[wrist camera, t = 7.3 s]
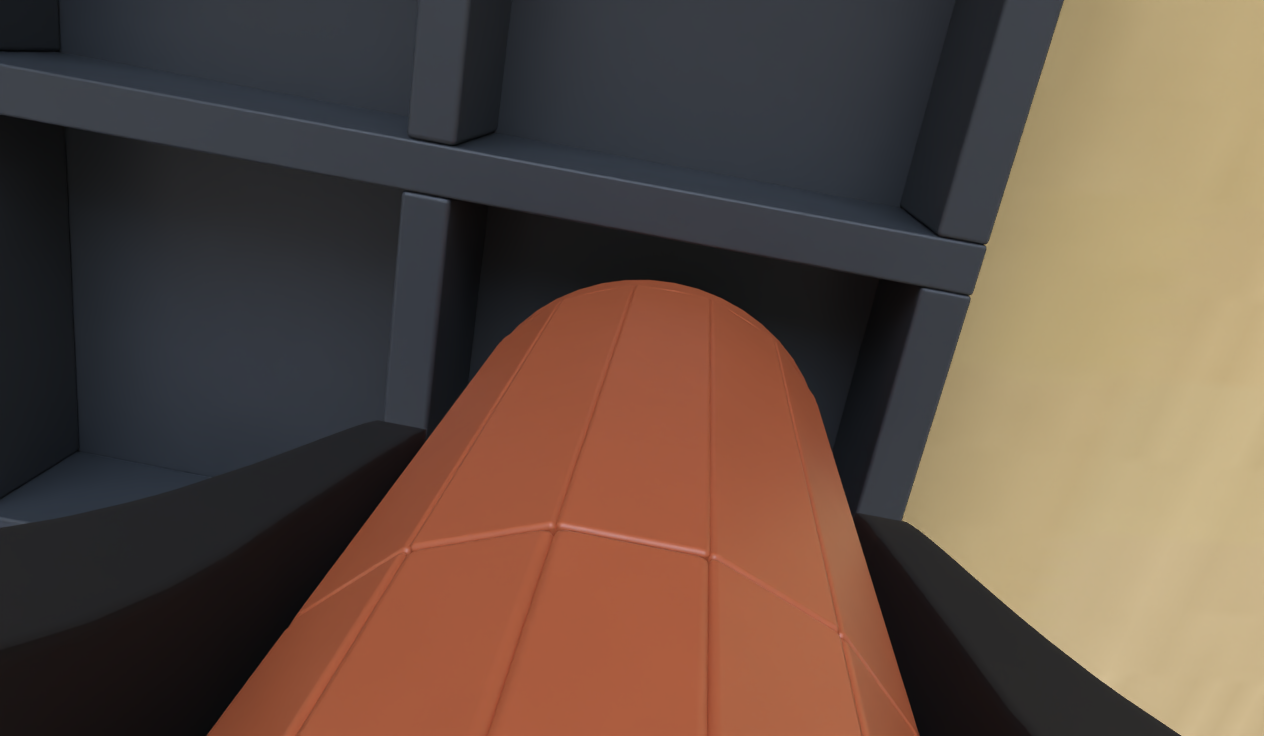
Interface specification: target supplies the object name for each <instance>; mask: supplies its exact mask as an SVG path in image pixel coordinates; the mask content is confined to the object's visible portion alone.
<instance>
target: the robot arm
mask: <svg viewBox="0 0 1264 736" xmlns="http://www.w3.org/2000/svg"><path fill="white" fill-rule="evenodd" d="M425 439H426V429H421V428H416V427H411V426H406V425H400V424H395V423H390V422H385V421H380V420H376V421H372V422H367V423H364V424H360V425H357V426H354V427H351V428H348V429H346V430H343V431H340V432H337V433H335V434H332V435H329V436H327V437H324V438H321V439H319V440H316V441H313V442H311V443H308V444H305V445H303V446H300V447H297V448H295V449H292V450H289V451H287V452H284V453H281V454H279V455H276V456H273V457H271V458H268V459H265V460H263V461H260V462H257V463H254V464H252V465H249V466H245V467H242V468H239V469H236V470H233V471H230V472H227V473H224V474H221V475H218V476H215V477H212V478H209V479H206V480H203V481H200V482H197V483H193V484H190V485H187V486H184V487H181V488H178V489H175V490H171V491H168V492H164V493H161V494H157V495H154V496H150V497H146V498H143V499H139V500H135V501H131V502H127V503H123V504H119V505H114V506H110V507H106V508H101V509H97V510H93V511H89V512H84V513H80V514H75V515H70V516H66V517H61V518H56V519H50V520H44V521H38V522H32V523H26V524H20V525H14V526H8V527H2V528H0V736H206V735H207V734H208V733H209V731H210V730H211V729H212V727H213V726H214V725H215V723H216V722H217V721H218V719H219V718H220V717H221V715H222V714H223V713H224V711H225V710H226V709H227V707H228V706H229V705H230V703H231V702H232V701H233V699H234V698H235V697H236V695H237V694H238V693H239V691H240V690H241V689H242V687H243V686H244V685H245V683H246V682H247V680H248V679H249V678H250V676H251V675H252V674H253V672H254V671H255V670H256V668H257V667H258V666H259V664H260V663H261V662H262V660H263V659H264V658H265V656H266V655H267V654H268V652H269V651H270V650H271V648H272V647H273V646H274V644H275V643H276V642H277V640H278V639H279V638H280V636H281V635H282V634H283V632H284V631H285V630H286V629H287V628H288V627H289V626H290V624H291V622H292V621H293V619H294V617H295V616H296V615H297V613H298V612H299V611H300V609H301V608H302V607H303V605H304V604H305V603H306V601H307V600H308V599H309V597H310V596H311V595H312V593H313V592H314V591H315V589H316V588H317V587H318V585H319V584H320V583H321V581H322V580H323V579H324V577H325V576H326V575H327V573H328V572H329V570H330V569H331V568H332V566H333V565H334V564H335V562H336V561H337V560H338V558H339V557H340V556H341V554H342V553H343V552H344V550H345V549H346V548H347V546H348V545H349V544H350V542H351V541H352V540H353V538H354V537H355V536H356V534H357V533H358V532H359V530H360V529H361V528H362V526H363V525H364V524H365V522H366V521H367V520H368V518H369V517H370V516H371V514H372V513H373V512H374V510H375V509H376V508H377V506H378V505H379V504H380V502H381V501H382V499H383V498H384V497H385V495H386V494H387V493H388V491H389V490H390V489H391V487H392V486H393V485H394V483H395V482H396V481H397V479H398V478H399V477H400V475H401V474H402V473H403V471H404V470H405V469H406V467H407V466H408V465H409V463H410V462H411V461H412V459H413V458H414V457H415V455H416V454H417V453H418V451H419V450H420V449H421V447H422V446H423V445H424V443H425ZM854 525H855V528H856V531H857V534H858V538H859V541H860V544H861V547H862V551H863V554H864V557H865V560H866V564H867V567H868V570H869V573H870V577H871V580H872V583H873V586H874V590H875V593H876V596H877V599H878V603H879V606H880V609H881V612H882V616H883V619H884V622H885V625H886V629H887V632H888V635H889V638H890V641H891V645H892V648H893V651H894V654H895V658H896V661H897V664H898V667H899V671H900V674H901V677H902V680H903V684H904V687H905V690H906V693H907V697H908V700H909V703H910V706H911V710H912V713H913V716H914V719H915V723H916V726H917V729H918V732H919V736H1181V735H1179V734H1178V733H1176V732H1175V731H1173V730H1172V729H1170V728H1169V727H1167V726H1166V725H1164V724H1163V723H1161V722H1160V721H1158V720H1157V719H1155V718H1154V717H1152V716H1151V715H1149V714H1148V713H1146V712H1145V711H1143V710H1142V709H1141V708H1139V707H1138V706H1136V705H1135V704H1133V703H1132V702H1130V701H1129V700H1127V699H1126V698H1124V697H1123V696H1121V695H1120V694H1118V693H1117V692H1116V691H1114V690H1113V689H1112V688H1110V687H1109V686H1107V685H1106V684H1105V683H1103V682H1102V681H1100V680H1099V679H1098V678H1096V677H1095V676H1094V675H1092V674H1091V673H1090V672H1088V671H1087V670H1086V669H1085V668H1083V667H1082V666H1081V665H1079V664H1078V663H1077V662H1076V661H1074V660H1073V659H1072V658H1070V657H1069V656H1068V655H1066V654H1065V653H1064V652H1063V651H1061V650H1060V649H1059V648H1057V647H1056V646H1055V645H1054V644H1052V643H1051V642H1050V641H1048V640H1047V639H1046V638H1045V637H1044V636H1042V635H1041V634H1040V633H1039V632H1037V631H1036V630H1035V629H1034V628H1033V627H1031V626H1030V625H1029V624H1028V623H1026V622H1025V621H1024V620H1023V619H1022V618H1020V617H1019V616H1018V615H1017V614H1016V613H1015V612H1013V611H1012V610H1011V609H1010V608H1009V607H1007V606H1006V605H1005V604H1004V603H1003V602H1002V601H1001V600H999V599H998V598H997V597H996V596H995V595H994V594H992V593H991V592H990V591H989V590H988V589H987V588H986V587H984V586H983V585H982V584H981V583H980V582H979V581H978V580H976V579H975V578H974V577H973V576H972V575H971V574H970V573H968V572H967V571H966V570H965V569H964V568H963V567H962V566H960V565H959V564H958V563H957V562H956V561H955V560H954V559H952V558H951V557H950V556H949V555H948V554H947V553H946V552H944V551H943V550H942V549H941V548H940V547H939V546H937V545H936V544H935V543H934V542H933V541H931V540H930V539H929V538H928V537H926V536H925V535H924V534H923V533H921V532H920V531H919V530H917V529H916V528H915V527H913V526H912V525H910V524H909V523H907V522H903V521H898V520H893V519H888V518H882V517H877V516H872V515H867V514H862V513H857V512H856V514H855V517H854Z"/></svg>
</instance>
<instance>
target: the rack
mask: <svg viewBox="0 0 1264 736" xmlns="http://www.w3.org/2000/svg"><path fill="white" fill-rule="evenodd" d="M1063 1H1064V0H0V528H2V527H8V526H14V525H20V524H26V523H32V522H38V521H44V520H50V519H56V518H61V517H66V516H70V515H75V514H80V513H84V512H89V511H93V510H97V509H101V508H106V507H110V506H114V505H119V504H123V503H127V502H131V501H135V500H139V499H143V498H146V497H150V496H154V495H157V494H161V493H164V492H168V491H171V490H175V489H178V488H181V487H184V486H187V485H190V484H193V483H197V482H200V481H203V480H206V479H209V478H212V477H215V476H218V475H221V474H224V473H227V472H230V471H233V470H236V469H239V468H242V467H245V466H249V465H252V464H254V463H257V462H260V461H263V460H265V459H268V458H271V457H273V456H276V455H279V454H281V453H284V452H287V451H289V450H292V449H295V448H297V447H300V446H303V445H305V444H308V443H311V442H313V441H316V440H319V439H321V438H324V437H327V436H329V435H332V434H335V433H337V432H340V431H343V430H346V429H348V428H351V427H354V426H357V425H360V424H364V423H367V422H372V421H376V420H380V421H385V422H390V423H395V424H400V425H406V426H411V427H416V428H421V429H426V439H425V442H426V441H427V439H428V438H429V437H430V435H431V434H432V433H433V431H434V430H435V428H436V427H437V426H438V424H439V423H440V422H441V420H442V419H443V418H444V416H445V415H446V414H447V412H448V411H449V410H450V408H451V407H452V406H453V404H454V403H455V402H456V400H457V399H458V398H459V396H460V395H461V394H462V392H463V391H464V390H465V388H466V387H467V386H468V384H469V383H470V382H471V380H472V379H473V378H474V376H475V375H476V374H477V372H478V371H479V370H480V368H481V367H482V366H483V364H484V363H485V362H486V360H487V359H488V357H489V356H490V355H491V353H492V352H493V351H494V349H495V348H496V347H497V345H498V344H499V343H500V342H501V341H502V340H503V339H504V338H505V337H506V336H508V335H509V334H511V333H512V332H513V331H514V330H515V329H516V327H517V326H518V325H519V324H521V323H522V322H523V321H524V320H526V319H527V318H528V317H529V316H531V315H532V314H533V313H535V312H536V311H537V310H539V309H540V308H542V307H544V306H546V305H547V304H549V303H551V302H552V301H554V300H556V299H558V298H560V297H562V296H565V295H567V294H569V293H572V292H574V291H577V290H579V289H583V288H587V287H590V286H594V285H598V284H601V283H608V282H615V281H623V280H655V281H663V282H671V283H677V284H681V285H685V286H689V287H693V288H697V289H700V290H702V291H705V292H707V293H710V294H712V295H715V296H717V297H720V298H722V299H724V300H726V301H728V302H729V303H731V304H733V305H735V306H737V307H738V308H740V309H742V310H743V311H745V312H746V313H748V314H749V315H750V316H752V317H753V318H754V319H756V320H757V321H758V322H760V323H761V324H762V325H763V326H764V327H765V328H766V329H767V330H768V331H769V332H770V333H772V334H773V335H774V336H775V337H776V338H777V339H778V340H779V341H780V343H781V344H782V345H783V347H784V348H785V349H786V350H787V352H788V353H789V354H790V355H791V357H792V358H793V359H794V361H795V363H796V365H797V366H798V368H799V370H800V371H801V373H802V375H803V377H804V378H805V381H806V383H807V386H808V388H809V390H810V391H811V393H812V394H813V396H814V397H815V400H816V403H817V405H818V408H819V411H820V414H821V418H822V421H823V424H824V427H825V431H826V434H827V437H828V440H829V444H830V447H831V450H832V453H833V457H834V460H835V463H836V466H837V470H838V473H839V476H840V479H841V483H842V486H843V489H844V492H845V496H846V499H847V502H848V505H849V509H850V512H851V515H852V518H853V521H854V517H855V514H856V512H857V513H862V514H867V515H872V516H877V517H882V518H888V519H893V520H898V521H902V518H903V515H904V512H905V508H906V505H907V502H908V499H909V496H910V492H911V489H912V486H913V483H914V480H915V476H916V473H917V470H918V467H919V464H920V460H921V457H922V454H923V451H924V447H925V444H926V441H927V438H928V435H929V431H930V428H931V425H932V422H933V419H934V415H935V412H936V409H937V406H938V403H939V399H940V396H941V393H942V390H943V387H944V383H945V380H946V377H947V374H948V371H949V367H950V364H951V361H952V358H953V355H954V351H955V348H956V345H957V342H958V339H959V335H960V332H961V329H962V326H963V323H964V319H965V316H966V313H967V310H968V306H969V303H970V300H971V299H970V296H969V295H972V293H973V291H974V288H975V284H976V281H977V278H978V275H979V272H980V268H981V265H982V262H983V259H984V256H985V252H986V246H985V245H983V244H987V243H988V241H989V239H990V235H991V232H992V229H993V226H994V223H995V219H996V216H997V213H998V210H999V206H1000V203H1001V200H1002V197H1003V194H1004V190H1005V187H1006V184H1007V181H1008V178H1009V174H1010V171H1011V168H1012V165H1013V162H1014V158H1015V155H1016V152H1017V149H1018V146H1019V142H1020V139H1021V136H1022V133H1023V130H1024V126H1025V123H1026V120H1027V117H1028V114H1029V110H1030V107H1031V104H1032V101H1033V97H1034V94H1035V91H1036V88H1037V85H1038V81H1039V78H1040V75H1041V72H1042V69H1043V65H1044V62H1045V59H1046V56H1047V53H1048V49H1049V46H1050V43H1051V40H1052V37H1053V33H1054V30H1055V27H1056V24H1057V21H1058V17H1059V14H1060V11H1061V8H1062V5H1063Z"/></svg>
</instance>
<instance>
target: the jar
mask: <svg viewBox="0 0 1264 736" xmlns="http://www.w3.org/2000/svg"><path fill="white" fill-rule="evenodd" d="M206 736H919V732H918V729H917V726H916V723H915V719H914V716H913V713H912V710H911V706H910V703H909V700H908V697H907V693H906V690H905V687H904V684H903V680H902V677H901V674H900V671H899V667H898V664H897V661H896V658H895V654H894V651H893V648H892V645H891V641H890V638H889V635H888V632H887V629H886V625H885V622H884V619H883V616H882V612H881V609H880V606H879V603H878V599H877V596H876V593H875V590H874V586H873V583H872V580H871V577H870V573H869V570H868V567H867V564H866V560H865V557H864V554H863V551H862V547H861V544H860V541H859V538H858V534H857V531H856V528H855V525H854V521H853V518H852V515H851V512H850V509H849V505H848V502H847V499H846V496H845V492H844V489H843V486H842V483H841V479H840V476H839V473H838V470H837V466H836V463H835V460H834V457H833V453H832V450H831V447H830V444H829V440H828V437H827V434H826V431H825V427H824V424H823V421H822V418H821V414H820V411H819V408H818V405H817V403H816V400H815V397H814V396H813V394H812V393H811V391H810V390H809V388H808V386H807V383H806V381H805V378H804V377H803V375H802V373H801V371H800V370H799V368H798V366H797V365H796V363H795V361H794V359H793V358H792V357H791V355H790V354H789V353H788V352H787V350H786V349H785V348H784V347H783V345H782V344H781V343H780V341H779V340H778V339H777V338H776V337H775V336H774V335H773V334H772V333H770V332H769V331H768V330H767V329H766V328H765V327H764V326H763V325H762V324H761V323H760V322H758V321H757V320H756V319H754V318H753V317H752V316H750V315H749V314H748V313H746V312H745V311H743V310H742V309H740V308H738V307H737V306H735V305H733V304H731V303H729V302H728V301H726V300H724V299H722V298H720V297H717V296H715V295H712V294H710V293H707V292H705V291H702V290H700V289H697V288H693V287H689V286H685V285H681V284H677V283H671V282H663V281H655V280H623V281H615V282H608V283H601V284H598V285H594V286H590V287H587V288H583V289H579V290H577V291H574V292H572V293H569V294H567V295H565V296H562V297H560V298H558V299H556V300H554V301H552V302H551V303H549V304H547V305H546V306H544V307H542V308H540V309H539V310H537V311H536V312H535V313H533V314H532V315H531V316H529V317H528V318H527V319H526V320H524V321H523V322H522V323H521V324H519V325H518V326H517V327H516V329H515V330H514V331H513V332H512V333H511V334H509V335H508V336H506V337H505V338H504V339H503V340H502V341H501V342H500V343H499V344H498V345H497V347H496V348H495V349H494V351H493V352H492V353H491V355H490V356H489V357H488V359H487V360H486V362H485V363H484V364H483V366H482V367H481V368H480V370H479V371H478V372H477V374H476V375H475V376H474V378H473V379H472V380H471V382H470V383H469V384H468V386H467V387H466V388H465V390H464V391H463V392H462V394H461V395H460V396H459V398H458V399H457V400H456V402H455V403H454V404H453V406H452V407H451V408H450V410H449V411H448V412H447V414H446V415H445V416H444V418H443V419H442V420H441V422H440V423H439V424H438V426H437V427H436V428H435V430H434V431H433V433H432V434H431V435H430V437H429V438H428V439H427V441H426V442H425V443H424V445H423V446H422V447H421V449H420V450H419V451H418V453H417V454H416V455H415V457H414V458H413V459H412V461H411V462H410V463H409V465H408V466H407V467H406V469H405V470H404V471H403V473H402V474H401V475H400V477H399V478H398V479H397V481H396V482H395V483H394V485H393V486H392V487H391V489H390V490H389V491H388V493H387V494H386V495H385V497H384V498H383V499H382V501H381V502H380V504H379V505H378V506H377V508H376V509H375V510H374V512H373V513H372V514H371V516H370V517H369V518H368V520H367V521H366V522H365V524H364V525H363V526H362V528H361V529H360V530H359V532H358V533H357V534H356V536H355V537H354V538H353V540H352V541H351V542H350V544H349V545H348V546H347V548H346V549H345V550H344V552H343V553H342V554H341V556H340V557H339V558H338V560H337V561H336V562H335V564H334V565H333V566H332V568H331V569H330V570H329V572H328V573H327V575H326V576H325V577H324V579H323V580H322V581H321V583H320V584H319V585H318V587H317V588H316V589H315V591H314V592H313V593H312V595H311V596H310V597H309V599H308V600H307V601H306V603H305V604H304V605H303V607H302V608H301V609H300V611H299V612H298V613H297V615H296V616H295V617H294V619H293V621H292V622H291V624H290V626H289V627H288V628H287V629H286V630H285V631H284V632H283V634H282V635H281V636H280V638H279V639H278V640H277V642H276V643H275V644H274V646H273V647H272V648H271V650H270V651H269V652H268V654H267V655H266V656H265V658H264V659H263V660H262V662H261V663H260V664H259V666H258V667H257V668H256V670H255V671H254V672H253V674H252V675H251V676H250V678H249V679H248V680H247V682H246V683H245V685H244V686H243V687H242V689H241V690H240V691H239V693H238V694H237V695H236V697H235V698H234V699H233V701H232V702H231V703H230V705H229V706H228V707H227V709H226V710H225V711H224V713H223V714H222V715H221V717H220V718H219V719H218V721H217V722H216V723H215V725H214V726H213V727H212V729H211V730H210V731H209V733H208V734H207V735H206Z"/></svg>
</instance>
